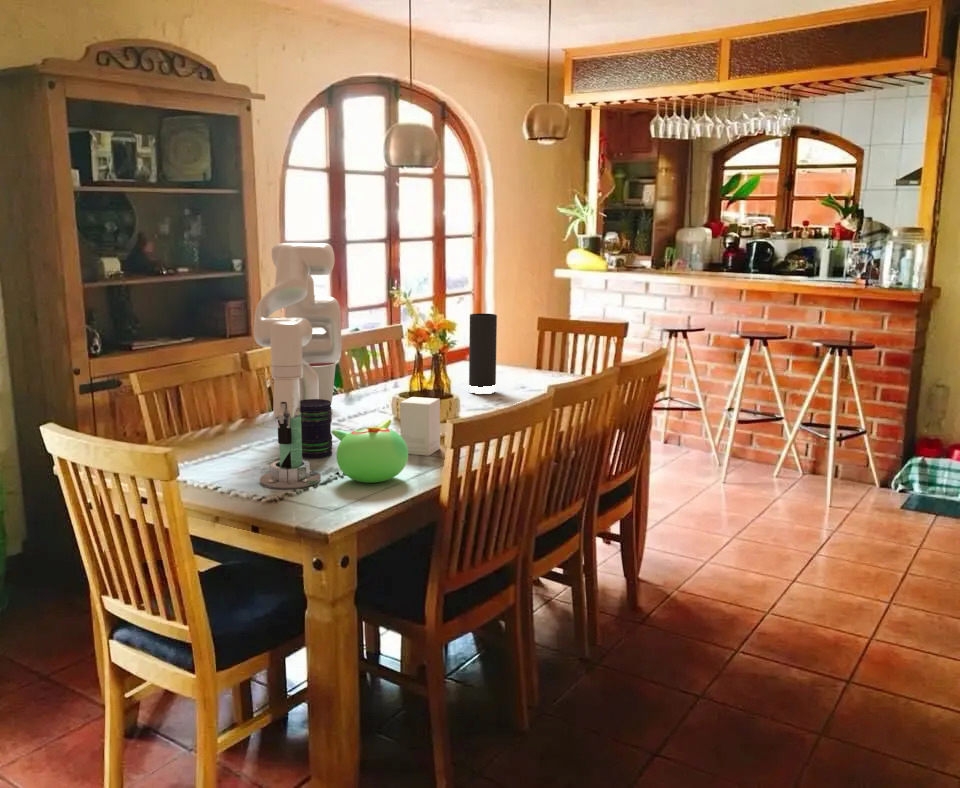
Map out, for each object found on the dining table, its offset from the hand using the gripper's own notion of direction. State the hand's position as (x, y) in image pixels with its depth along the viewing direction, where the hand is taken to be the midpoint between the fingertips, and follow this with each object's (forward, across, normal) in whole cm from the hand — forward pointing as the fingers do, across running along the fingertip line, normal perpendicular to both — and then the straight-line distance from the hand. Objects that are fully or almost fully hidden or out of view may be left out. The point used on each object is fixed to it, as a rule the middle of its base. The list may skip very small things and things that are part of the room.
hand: (289, 438), depth 218 cm
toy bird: (+11, -1, +20) cm, 23 cm away
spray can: (+10, 0, 0) cm, 10 cm away
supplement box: (+11, -30, +31) cm, 45 cm away
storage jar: (+11, -25, +2) cm, 27 cm away
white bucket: (+11, -85, -11) cm, 86 cm away
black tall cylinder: (+11, -119, +49) cm, 129 cm away
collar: (+11, 0, 0) cm, 11 cm away
